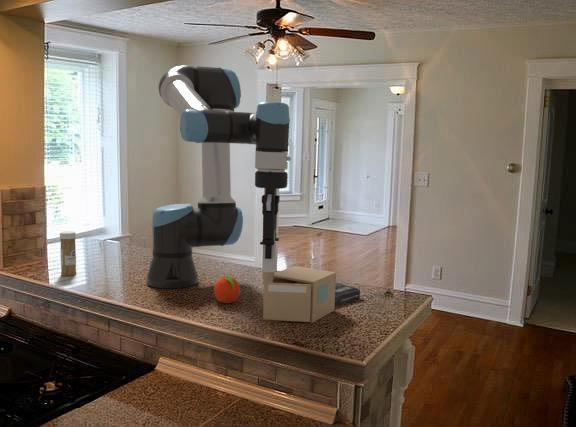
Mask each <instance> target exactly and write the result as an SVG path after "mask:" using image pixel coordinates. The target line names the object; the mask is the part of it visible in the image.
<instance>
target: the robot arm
mask: <svg viewBox="0 0 576 427" xmlns="http://www.w3.org/2000/svg"><path fill="white" fill-rule="evenodd" d="M241 91H242V90H241V85H240V80H239V77H238V76H237V74H236V72H235V71H233V70H232V69H227V68H222V67H210V66H196V65H187V64H184V65H183V64H182V65H178V66H175V67H172V68H170V69H169V70H167V71H165V73H164V74H162V76H161V77H160V80H159V81H158V93H159V96H160V98H161V99H162V101H163V102H164V103H165V104H166V105H167V106H169V107H171V108H173V109H174V111H175V112H176V114H177V115H178V116H179V117H180V118H179V132H180V136H181V139H182V140H183V141H184V142H189V143H190V142H191V143H196V144H201V173H202V174H201V177H202V178H201V180H202V182H201V183H202V196H201V198H200V199H199V200H198V201H197V208H194V207H193V204H192V203H174V204H168V205H163V206H159V207H157V208H156V209H154V211H153V213H152V221H151V222H152V223H151V228H152V232H151V233H152V236H151V237H152V238H151V239H152V247H151V248H152V257H151V262H150V264H149V268H148V272H147V273H146V285H148V286H150V287H153V288H158V289H182V288H189V287H193V286H195V285H196V284H198V283H199V274H198V272H197V269H196V265H195V262H194V259H193V248H197V247H198V248H199V247H200V248H201V247H217V246H218V247H219V246H220V247H224V246H231V245H234V244H236V243H237V242H238V240H240V237H241V235H242V231H243V226H244V215H243V212H242V209H241V208H240V207H238V206H237V202H236V200H235V199H233V197H232V195H231V191H232V190H231V189H232V188H231V145H230V144H241V145H242V144H243V145H255V152H254V153H255V154H254V157H255V158H254V159H255V161H254V162H255V163H254V168H255V169H256V172H254V174H255V175H254V186H255V187H256V188H260V189H265V190H264V194H263V195H262V196H261V204H262V207H261V208H262V210H261V213H262V240H261V241H260V242H259V245H262V264H261V265H262V268H261V270H262V271H261V272H262V273H263V272H274V273H275V269H276V255H277V254H276V252H277V251H276V250H277V249H276V248H277V244H276V243H277V242H279V241H280V238H279V237H277V235H278V234H277V224H278V223H277V221H278V220H277V218H278V213H279V203H280V200H281V199H280V195H277V194H278V193H277V190H278V189H280V190H281V189H286V188H287V187H288V172H286V170H288V168H289V163H288V162H290V161H291V160H292V158H291V156H289V141H290V139H289V138H290V137H289V136H290V122H291V119H290V118H291V117H290V107H289V104H287V103H285V102H277V101H262V102H259V103H257V106H256V112H243V111H235V109H237V108H239V106H240V104H241V97H242V93H241ZM274 232H275V241H274Z"/></svg>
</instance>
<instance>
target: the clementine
mask: <svg viewBox="0 0 576 427" xmlns="http://www.w3.org/2000/svg"><path fill="white" fill-rule="evenodd" d="M240 287H241V286H240V284H239V281H237V280H236V279H235V278H234V277H233V276H232V277H231V276H228V275H227V276H223V277H221V278H220V279H218V280H217V281H216V282H215V284H214V287H213V294H214V297H215V298H216V299H217V300H218V301H219V302H221V303H224V304H230V303H233V302H235V301H236V300H237V299H238V298H239V295H240V293H241V288H240Z"/></svg>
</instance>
